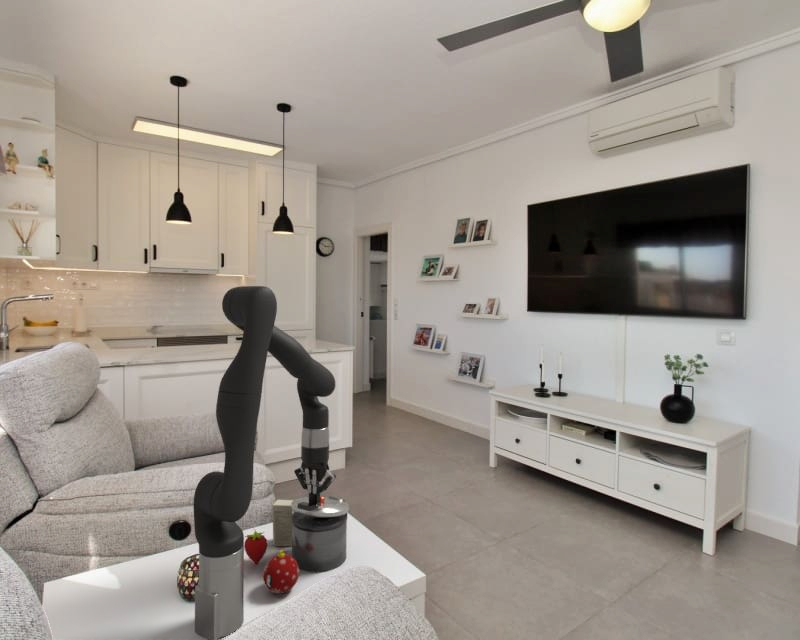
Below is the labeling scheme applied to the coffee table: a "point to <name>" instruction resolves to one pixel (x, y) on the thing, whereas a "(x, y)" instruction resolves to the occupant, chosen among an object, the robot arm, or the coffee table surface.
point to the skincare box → (282, 523)
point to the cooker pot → (318, 542)
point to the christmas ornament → (281, 573)
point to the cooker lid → (320, 507)
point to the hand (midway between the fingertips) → (314, 505)
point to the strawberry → (256, 546)
